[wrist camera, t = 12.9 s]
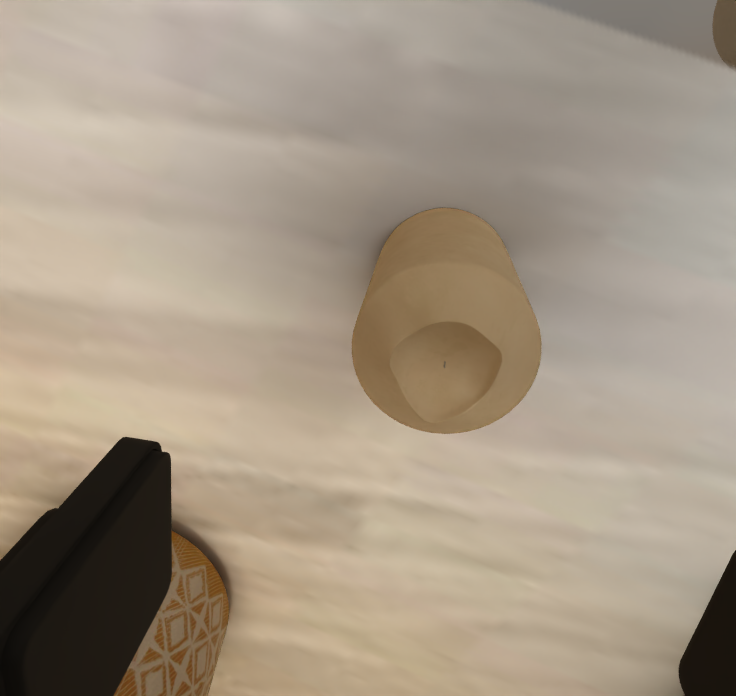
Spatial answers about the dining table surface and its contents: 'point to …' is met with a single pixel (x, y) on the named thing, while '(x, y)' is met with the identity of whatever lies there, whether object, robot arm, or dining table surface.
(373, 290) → the candle
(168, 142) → the dining table surface
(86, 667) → the robot arm
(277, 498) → the dining table surface
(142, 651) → the planter
